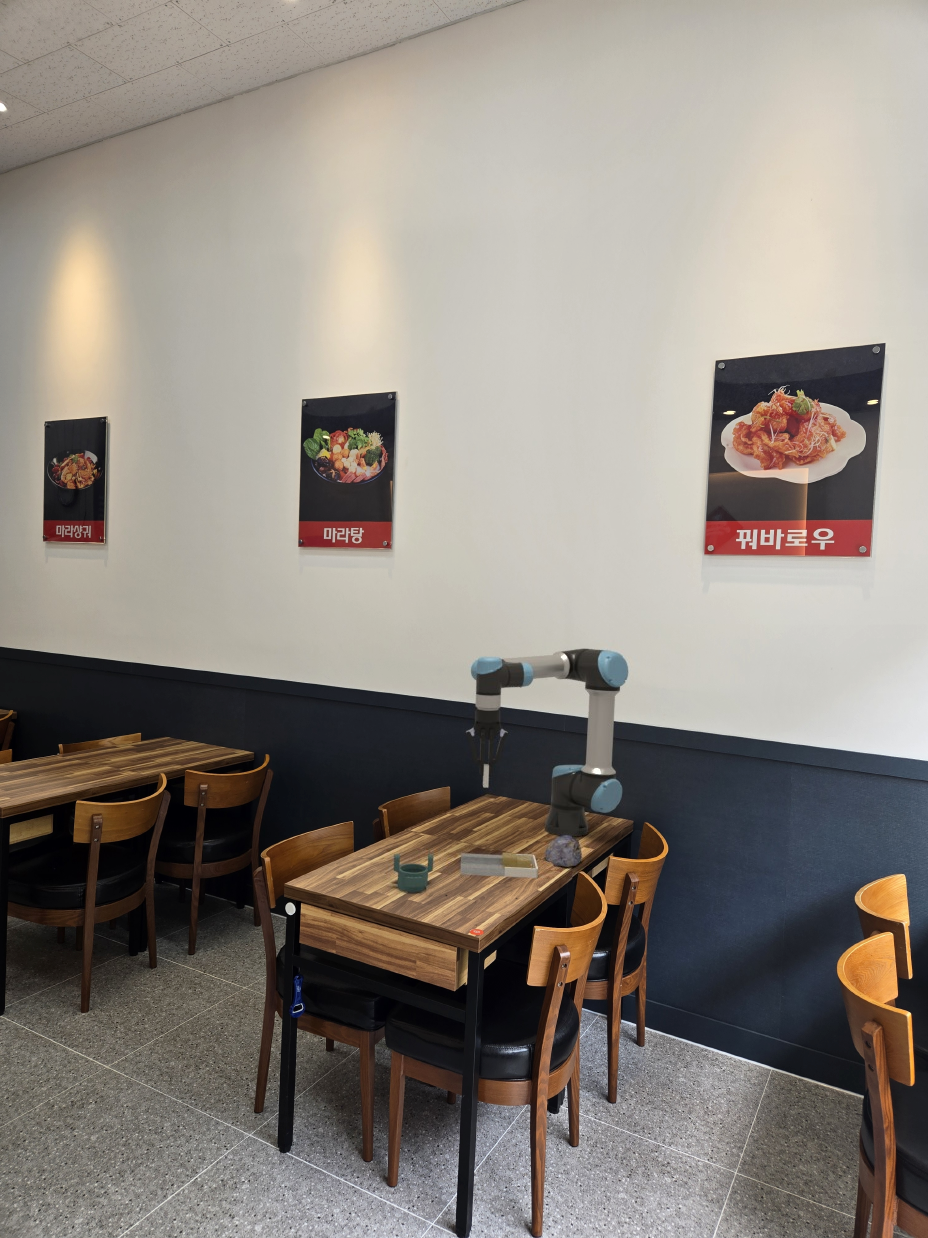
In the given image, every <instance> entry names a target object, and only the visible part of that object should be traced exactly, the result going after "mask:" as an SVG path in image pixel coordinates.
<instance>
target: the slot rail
mask: <svg viewBox="0 0 928 1238" xmlns="http://www.w3.org/2000/svg"><path fill="white" fill-rule="evenodd" d="M504 874H505V867H504V866H502V854H486V853H485V854H483V853H467V852H465V853H464V852H461V853H460V875H462V876H463V875H468V876H487V877H488V876H489V877H504Z"/></svg>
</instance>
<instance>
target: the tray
mask: <svg viewBox="0 0 928 1238" xmlns="http://www.w3.org/2000/svg"><path fill="white" fill-rule="evenodd" d="M516 856H530V860H531V864H532V867H530V868H515V867H505V874H504V876H503V877H504V878H507V877H508V878H525V879H526V878H529V879H538V878H539V867H538V863H537V860H536V856H535V855H534V854H526V853H525V854H524V853H523V854H522V853H516Z"/></svg>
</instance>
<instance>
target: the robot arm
mask: <svg viewBox="0 0 928 1238" xmlns="http://www.w3.org/2000/svg"><path fill="white" fill-rule="evenodd" d="M470 673H471V674H470V675H471V677H472V678H473V680H474V681H476V682H475V684H476V685H475V707H476V709H475V711H474V713H475V716H474V723H473V725H472V726H473V727H472V728H471V729H467V730H466V731H465V733H466V737H468V739H469V742H470V747H471V752H472V757H473V761H474V763H475V764H478V765H479V775H480V776H481V777H482V786H483V788H489V781H490V780H489V778H490V777H491V776H493V768H494V767H493V766H494V765H497V764H499V763H500V760H501V756H502V752H503V748H504V745H505V741H506V739H507V738H508V737H509V733H508V731H506V730H504V729H503V727H502V724H501V710H500V708H501V703H502V702H501V701H502V689H505V688H508V689H509V688H523V687H529V686H530V685H531V684H532V683H533V681H534V679H547V678H556V679H557V680H571V681H577V682H583V683H584V684H585V685H584V686H585V687H584V690H585V691H586V693H588V695H589V696H588V714H587V715H588V716H587V717H588V718H587V736H586V737H587V738H586V755H585V764H563V765H562V764H561V765H557V766H555V767H554V768H552V776H551V794H550V796H551V797H550V799H551V800H550V809H549V811H548V814H547V817H546V819H545V822H544V830H545V831H546V832H547V833H550V834H552V835H557V836H563V835H571V836H573V837H583V836H586V835H587V834H588V833H589V823H588V821H587V818H586V813H585V808H586V809H590V810H592V811H594V812H598V813H599V812H600V813H605V814H606V813H610V812H611V811H613V810H615V809H616V808H617V806H618V805H619V803H620V802H621V800H622V795H623V787H622V784H621V782H620V781H619V780H618V779H616V777H617V775H616V774H617V771H616V770H615V769H614V767H613V766H612V765H613V764H612V762H613V745H614V744H613V743H614V726H615V725H614V724H615V723H614V722H615V706H616V705H615V704H616V703H615V702H616V695H618V694H619V693H621V687H622V686H624V685H625V683H626V680H628V677H629V666H628V663H627V660H626V658H624V656H623V655H622V654H621V653H619V652H617V651H612V650H608V649H593V648H577V649H576V648H575V649H570V650H563V651H556V652H554V653H553V654H551V655H549V654H548V655H538V656H537V655H536V656H535V655H534V656H524V657H523V656H521V657H520V656H519V657H506V658H504V657H503V658H501V657H500V656H499V657H497V656H480V657H479V658H478V659H476V660H474V661H473V662H472V664H471V666H470ZM475 734H476V735H477V737H478V738H479V742H480V743H479V744H480V745H479V746H480V747H479V758H478V752H477V747H476V744H475V738H474V736H475ZM498 735H499V736H500V737H499V738H500V739H499V741H498V745H497V749H496V752H495V756H494V742H495V741H494V739H495V738H497V736H498ZM486 740H488V756H487V757H488V758H487V759H488V763H485V751H486V750H485V749H486V748H485V747H486V746H485V745H486ZM587 832H588V833H587ZM585 834H586V835H585ZM582 835H583V836H582Z"/></svg>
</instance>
